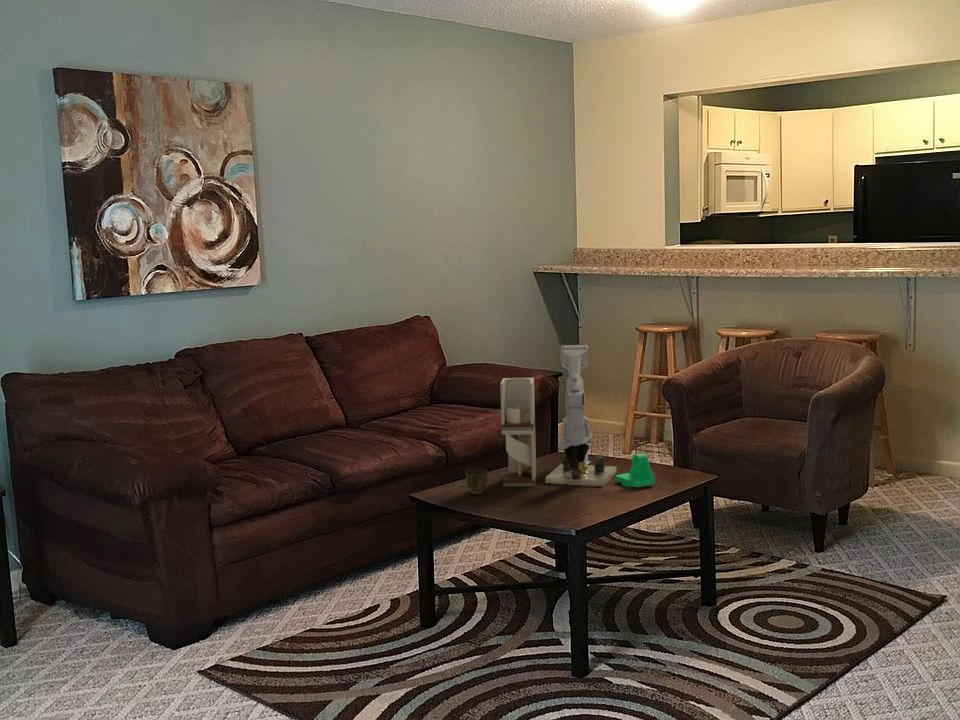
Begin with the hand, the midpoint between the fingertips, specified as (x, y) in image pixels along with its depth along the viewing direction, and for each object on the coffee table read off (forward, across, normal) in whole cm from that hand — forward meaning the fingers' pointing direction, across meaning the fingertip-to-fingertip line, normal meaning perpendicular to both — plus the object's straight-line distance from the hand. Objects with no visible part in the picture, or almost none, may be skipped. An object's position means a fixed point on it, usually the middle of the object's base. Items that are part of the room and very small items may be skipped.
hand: (576, 466), depth 358 cm
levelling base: (+5, +6, +3) cm, 8 cm away
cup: (+6, -33, +14) cm, 36 cm away
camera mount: (+6, +11, -16) cm, 20 cm away
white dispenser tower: (+6, -12, +15) cm, 20 cm away
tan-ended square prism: (+3, 0, 0) cm, 3 cm away
